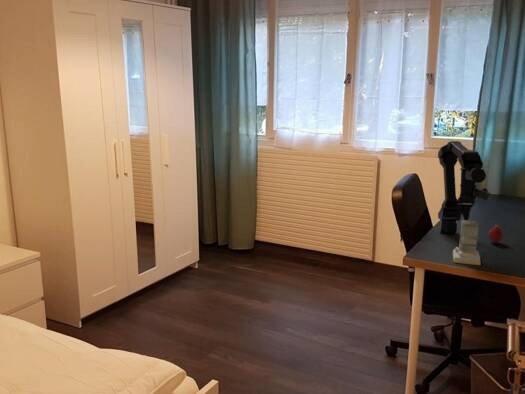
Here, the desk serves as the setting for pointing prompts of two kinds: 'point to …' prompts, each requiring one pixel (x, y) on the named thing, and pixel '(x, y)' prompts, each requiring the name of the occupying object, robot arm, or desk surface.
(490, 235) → the onion
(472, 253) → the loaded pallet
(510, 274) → the desk surface
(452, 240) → the desk surface
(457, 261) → the plate
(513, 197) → the desk surface
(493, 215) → the desk surface
